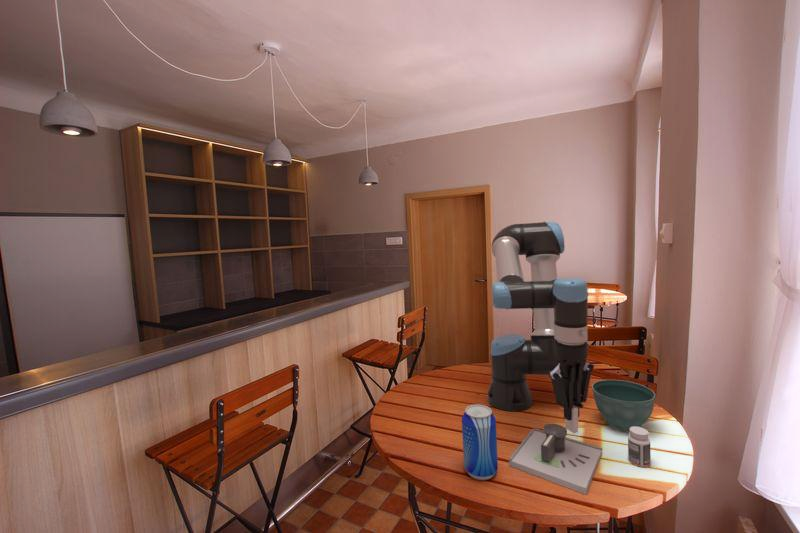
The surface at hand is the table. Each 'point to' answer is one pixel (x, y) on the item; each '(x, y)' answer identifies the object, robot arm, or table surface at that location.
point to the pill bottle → (639, 447)
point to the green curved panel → (556, 462)
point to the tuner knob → (553, 441)
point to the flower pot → (623, 403)
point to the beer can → (479, 442)
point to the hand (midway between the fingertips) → (571, 429)
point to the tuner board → (564, 476)
